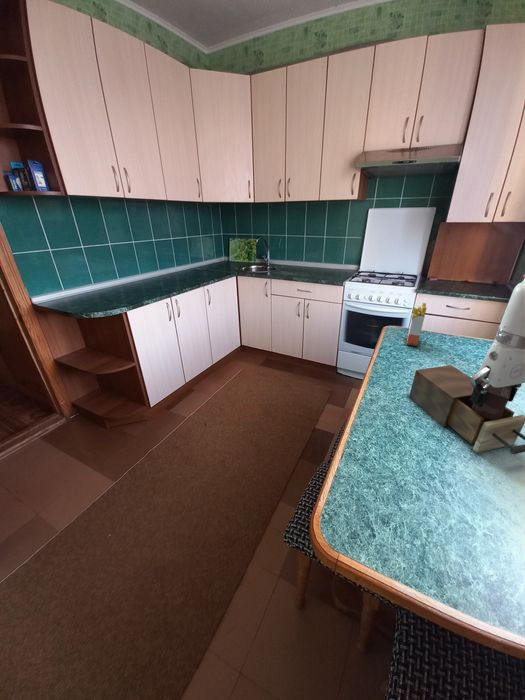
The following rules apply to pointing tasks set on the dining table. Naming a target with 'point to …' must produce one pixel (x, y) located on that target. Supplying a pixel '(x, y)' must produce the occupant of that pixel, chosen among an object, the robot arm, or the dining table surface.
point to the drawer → (486, 427)
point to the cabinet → (440, 390)
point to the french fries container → (416, 325)
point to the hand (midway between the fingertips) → (490, 400)
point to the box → (494, 402)
